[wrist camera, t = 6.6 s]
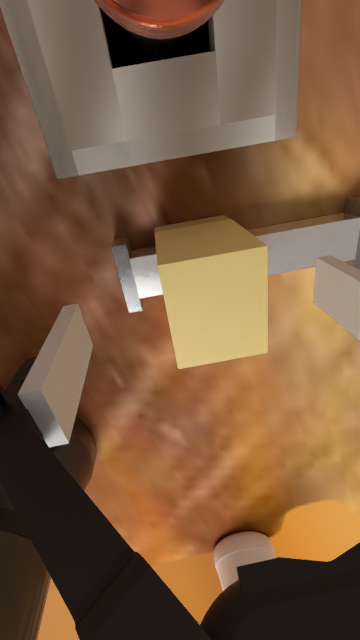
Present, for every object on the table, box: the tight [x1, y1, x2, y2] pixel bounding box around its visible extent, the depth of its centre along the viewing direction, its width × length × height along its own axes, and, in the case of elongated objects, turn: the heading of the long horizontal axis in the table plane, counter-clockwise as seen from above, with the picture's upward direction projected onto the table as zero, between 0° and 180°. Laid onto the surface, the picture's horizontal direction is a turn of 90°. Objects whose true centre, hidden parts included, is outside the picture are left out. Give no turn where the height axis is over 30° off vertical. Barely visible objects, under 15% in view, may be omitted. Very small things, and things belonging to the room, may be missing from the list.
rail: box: [111, 196, 360, 313], centre depth 21 cm, size 18×5×2 cm, turn 99°
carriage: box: [154, 215, 268, 369], centre depth 18 cm, size 5×6×8 cm
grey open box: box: [0, 0, 302, 179], centre depth 12 cm, size 9×9×9 cm
